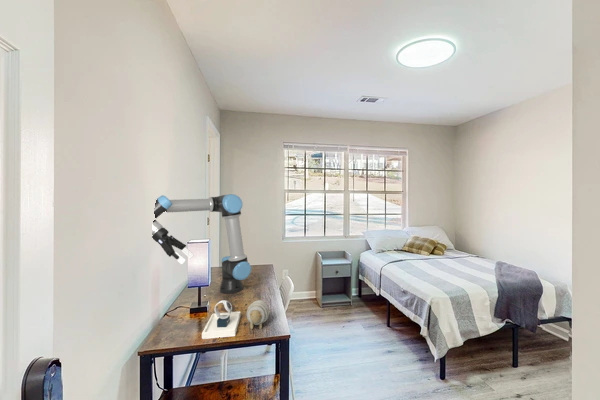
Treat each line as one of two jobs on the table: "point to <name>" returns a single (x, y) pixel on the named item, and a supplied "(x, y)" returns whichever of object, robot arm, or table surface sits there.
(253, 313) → the toy sheep
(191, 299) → the table surface
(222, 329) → the tray
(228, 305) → the watch
